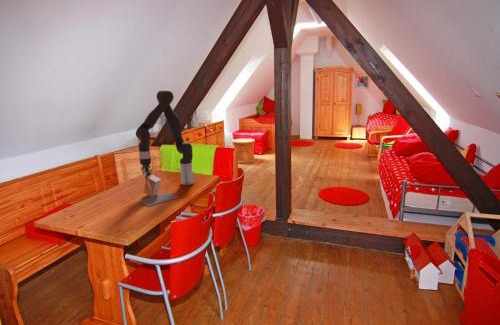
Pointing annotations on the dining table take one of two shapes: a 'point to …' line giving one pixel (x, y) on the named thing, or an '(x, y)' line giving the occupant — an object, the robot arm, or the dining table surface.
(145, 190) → the small box
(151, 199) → the slate mat
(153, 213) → the dining table surface
